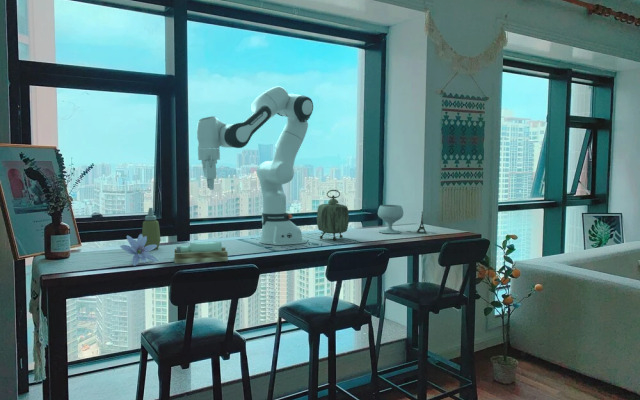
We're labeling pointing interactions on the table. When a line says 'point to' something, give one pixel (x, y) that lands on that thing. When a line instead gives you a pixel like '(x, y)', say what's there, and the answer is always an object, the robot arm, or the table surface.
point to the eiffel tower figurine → (421, 227)
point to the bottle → (201, 247)
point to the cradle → (201, 256)
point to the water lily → (139, 249)
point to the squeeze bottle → (151, 229)
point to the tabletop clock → (332, 217)
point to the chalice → (390, 216)
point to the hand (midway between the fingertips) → (210, 188)
